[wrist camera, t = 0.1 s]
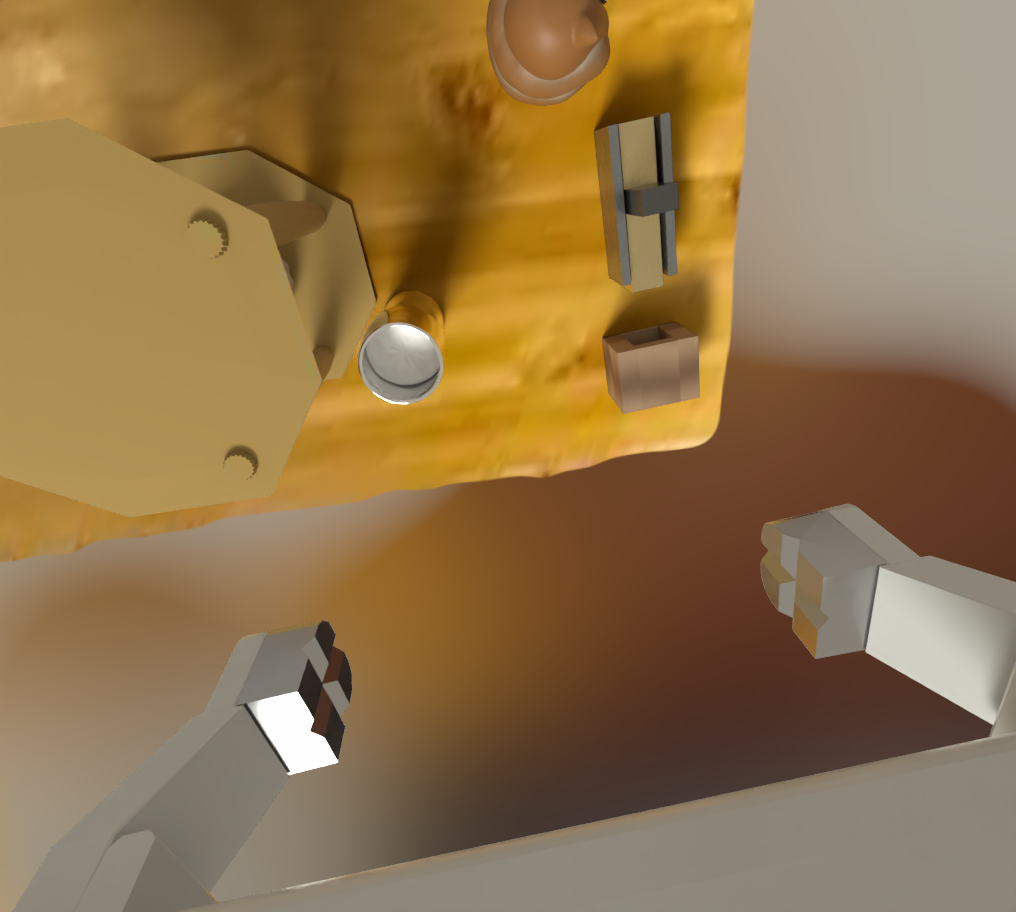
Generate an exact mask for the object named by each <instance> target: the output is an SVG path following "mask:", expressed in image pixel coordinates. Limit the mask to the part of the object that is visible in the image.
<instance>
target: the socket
mask: <svg viewBox="0 0 1016 912" xmlns="http://www.w3.org/2000/svg"><path fill="white" fill-rule="evenodd" d="M602 341H603V350H604V359H605V367H606V376H607V385H608V394H609V395H610V396H611V398H612V399H613V400H614V402H615V403H616V404H617V406H618V407H619V408H620V410H621V411H622V412H623V414H625V413H630V412H635V411H639V410H644V409H648V408H653V407H657V406H662V405H667V404H671V403H676V402H680V401H685V400H689V399H694V398H699V397H700V384H699V349H698V335H696V334H694V333H693V332H691V331H690V330H688V329H686V328H685V327H683V326H681V325H680V324H678V323H677V322H671V323H667V324H662V325H658V326H653V327H649V328H644V329H639V330H635V331H630V332H626V333H621V334H617V335H612V336H608V337H603V338H602Z"/></svg>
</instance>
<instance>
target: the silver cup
mask: <svg viewBox="0 0 1016 912" xmlns="http://www.w3.org/2000/svg"><path fill="white" fill-rule="evenodd" d="M443 325H444V320H443V314H442V311H441V309H440V307H439V305H438V304H437V303H436V301H435V300H434V299H433V298H431V297H430V296H428V295H427V294H425V293H422V292H419V291H404V292H401V293H399V294H397V295H395V296H394V297H393V298H392V299H391V300H390V301H389V302H388V304H387V305H386V307H385V310H384V311H382V312H381V313H380V314H378V315H377V316H376V317H375V318H374V319H373V321H372V322H371V323H370V325H369V326H368V328H367V330H366V332H365V334H364V337H363V340H362V343H361V346H360V349H359V353H358V369H359V373H360V375H361V378H362V380H363V382H364V383H365V385H366V386H367V387H368V388H369V390H370V391H371V392H373V393H374V394H375V395H376V396H378V397H379V398H381V399H383V400H385V401H388V402H391V403H395V404H411V403H415V402H418V401H421V400H423V399H425V398H426V397H428V396H429V395H430V394H431V393H432V392H433V391H434V390H435V389H436V388H437V386H438V385H439V383H440V381H441V378H442V375H443V370H444V367H445V363H446V356H447V345H446V338H445V335H444V332H443Z"/></svg>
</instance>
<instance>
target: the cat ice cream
mask: <svg viewBox="0 0 1016 912" xmlns="http://www.w3.org/2000/svg"><path fill="white" fill-rule="evenodd" d="M604 2H605V3H607V2H606V1H605V0H490V2H489V6H488V12H487V26H486V32H487V42H488V49H489V54H490V59H491V63H492V66H493V69H494V71H495V74H496V76H497V79H498V81H499V83H500V84H501V86H502V87H503V88H504V90H505V91H506V92H507V93H508V94H509V95H510V96H511V97H512V98H514V99H516V100H518V101H521V102H523V103H527V104H532V105H538V106H547V105H554V104H558V103H561V102H564V101H566V100H567V99H569V98H570V97H571V96H572V95H574V94H575V93H576V92H577V91H578V90H580V89H581V88H582V87H583V86H584V85H585V84H586V83H587V82H589V81H591V80H592V79H594V78H595V77H597V76H598V75H599V74H600V73H601V72H602V71H603V69H604V68H605V66H606V65H607V63H608V60H609V56H610V44H609V38H608V28H609V21H608V15H607V12H606V10H605V8H604V6H603V5H602V3H603V4H605V3H604Z"/></svg>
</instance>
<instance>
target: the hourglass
mask: <svg viewBox="0 0 1016 912" xmlns="http://www.w3.org/2000/svg"><path fill="white" fill-rule="evenodd" d="M375 304H376V299H375V295H374V292H373V288H372V284H371V280H370V277H369V273H368V269H367V265H366V262H365V258H364V254H363V250H362V247H361V243H360V239H359V235H358V232H357V228H356V224H355V220H354V217H353V213H352V209H351V205H350V204H348V203H346V202H344V201H342V200H341V199H339V198H337V197H335V196H333V195H331V194H329V193H328V192H326V191H324V190H322V189H320V188H318V187H316V186H314V185H313V184H311V183H309V182H307V181H305V180H303V179H301V178H299V177H298V176H296V175H294V174H292V173H290V172H288V171H286V170H285V169H283V168H281V167H279V166H277V165H275V164H273V163H271V162H270V161H268V160H266V159H264V158H262V157H260V156H258V155H256V154H255V153H253V152H251V151H249V150H242V151H235V152H228V153H221V154H214V155H207V156H200V157H192V158H185V159H178V160H171V161H164V162H157V163H156V162H154V161H152V160H150V159H148V158H146V157H144V156H142V155H140V154H138V153H136V152H134V151H132V150H130V149H128V148H126V147H124V146H122V145H120V144H118V143H116V142H114V141H112V140H110V139H108V138H106V137H104V136H102V135H100V134H98V133H96V132H94V131H92V130H90V129H88V128H86V127H84V126H82V125H80V124H79V123H77V122H75V121H73V120H71V119H69V118H66V119H59V120H52V121H45V122H37V123H30V124H23V125H16V126H8V127H1V128H0V476H2V477H6V478H9V479H12V480H15V481H18V482H21V483H24V484H27V485H30V486H33V487H37V488H40V489H43V490H46V491H49V492H52V493H55V494H58V495H61V496H65V497H68V498H71V499H74V500H77V501H80V502H83V503H86V504H89V505H93V506H96V507H99V508H102V509H105V510H108V511H111V512H114V513H117V514H121V515H124V516H127V517H136V516H142V515H149V514H155V513H162V512H168V511H175V510H181V509H187V508H194V507H200V506H207V505H213V504H220V503H226V502H233V501H239V500H245V499H252V498H258V497H265V496H271V495H272V494H273V492H274V489H275V487H276V485H277V483H278V480H279V478H280V476H281V473H282V471H283V469H284V467H285V464H286V462H287V460H288V457H289V455H290V453H291V450H292V448H293V446H294V444H295V441H296V439H297V437H298V434H299V432H300V430H301V428H302V425H303V423H304V421H305V418H306V416H307V414H308V411H309V409H310V407H311V405H312V402H313V400H314V398H315V395H316V393H317V391H318V389H319V388H320V386H321V384H322V383H323V381H325V380H331V379H338V378H342V377H343V375H344V373H345V371H346V368H347V366H348V364H349V362H350V359H351V357H352V355H353V353H354V351H355V348H356V346H357V344H358V342H359V340H360V337H361V335H362V333H363V331H364V328H365V326H366V324H367V322H368V320H369V317H370V315H371V313H372V311H373V308H374V306H375Z"/></svg>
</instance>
